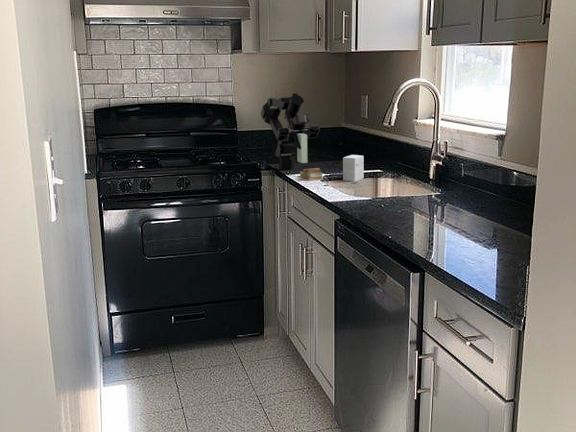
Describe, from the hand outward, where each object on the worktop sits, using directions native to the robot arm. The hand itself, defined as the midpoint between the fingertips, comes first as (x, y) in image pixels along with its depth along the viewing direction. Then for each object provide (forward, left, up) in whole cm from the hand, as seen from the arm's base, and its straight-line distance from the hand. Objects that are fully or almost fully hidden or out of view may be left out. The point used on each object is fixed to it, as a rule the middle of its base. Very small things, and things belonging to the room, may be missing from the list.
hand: (303, 148), depth 276 cm
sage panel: (-1, +1, -6) cm, 6 cm away
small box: (+23, +1, -13) cm, 27 cm away
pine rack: (+6, -4, -12) cm, 14 cm away
